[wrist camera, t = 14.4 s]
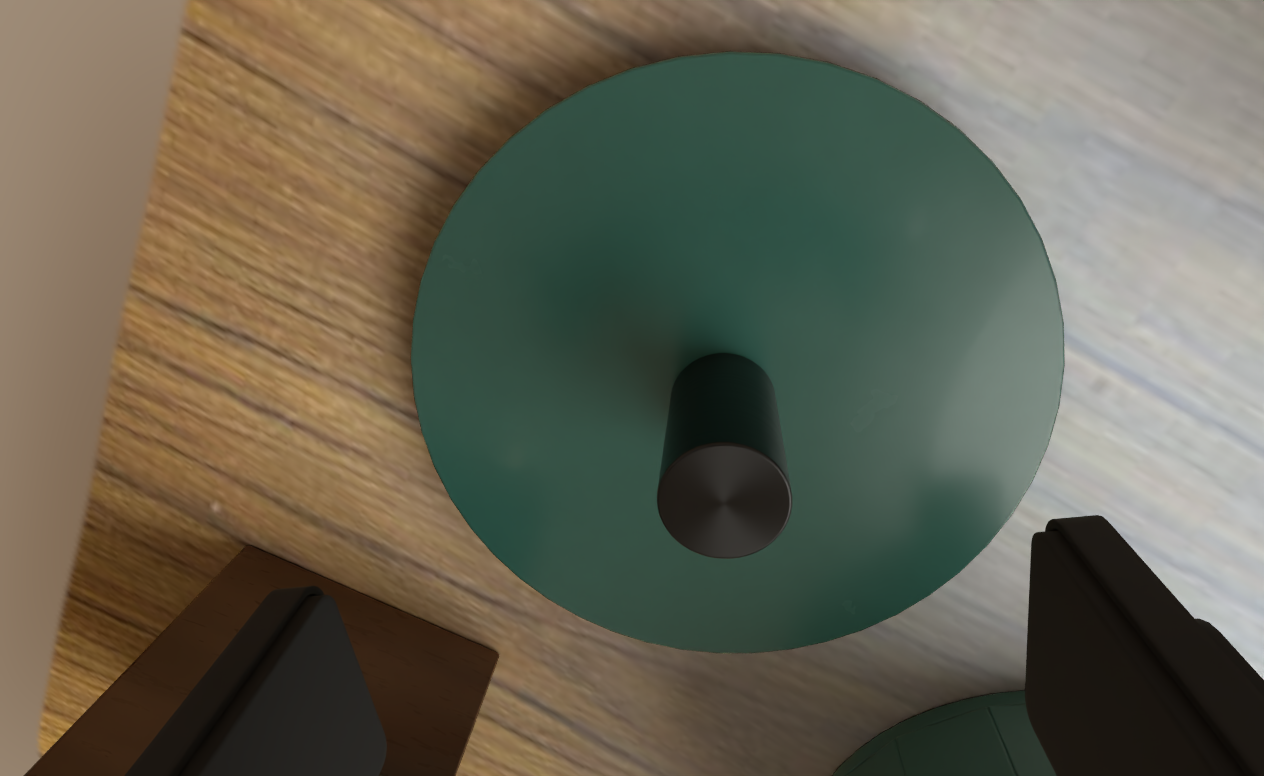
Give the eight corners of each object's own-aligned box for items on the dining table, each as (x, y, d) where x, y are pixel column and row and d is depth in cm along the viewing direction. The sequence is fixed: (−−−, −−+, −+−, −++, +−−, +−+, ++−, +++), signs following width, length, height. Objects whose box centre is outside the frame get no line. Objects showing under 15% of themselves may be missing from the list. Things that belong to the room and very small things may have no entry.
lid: (499, 639, 23) (435, 810, 18) (354, 113, 17) (198, 136, 12) (1033, 607, 21) (1140, 794, 15) (1059, -10, 15) (1239, -45, 10)
